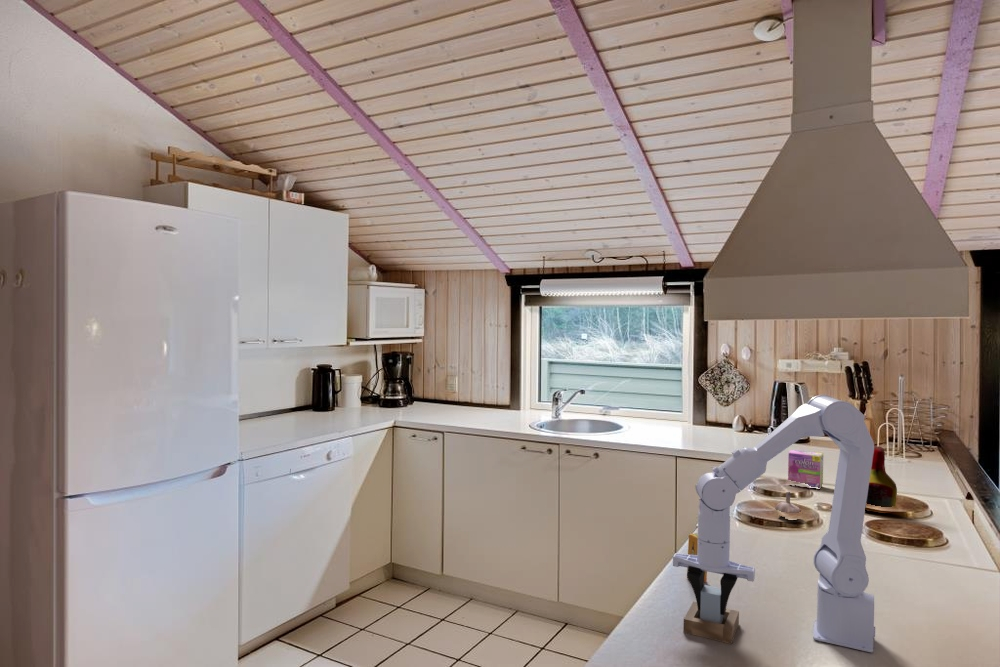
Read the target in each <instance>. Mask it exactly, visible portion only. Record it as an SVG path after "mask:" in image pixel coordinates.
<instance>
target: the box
mask: <svg viewBox="0 0 1000 667" xmlns="http://www.w3.org/2000/svg"><path fill="white" fill-rule="evenodd" d="M787 456H788V457H787V458H788V459H787V460H788V464H787V466H788V467H787V481H788V480H791V481H796V482H800V483H805V484H808V485H809V486H811V487H818V488H821V486H822V484H823V485H824V453H821V452H813V451H804V450H803V451H802V450H796V449H795V450H793V449H791V450H789V451H788V455H787ZM821 489H822V488H821Z"/></svg>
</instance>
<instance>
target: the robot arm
mask: <svg viewBox="0 0 1000 667" xmlns="http://www.w3.org/2000/svg"><path fill="white" fill-rule="evenodd" d="M865 418H866V416H865V415H864V414H863V413H862V412H861V410H860V409H858V408H857V407H856V406H855V405H854V404H852V403H851V402H849V401H845V400H839V399H837V398H835V397H832V396H830V395H828V394H827V395H825V394H818V395H815V396H813V397H812V398H811V399H809V400H808V401H807V403H803V404H802V405H800V406H798V408H796V410H795V411H794V412H793V413H792V414H791V415H790V416H788V418H786V419H785V420H784V421H783V422H782V423H781V424H780V425H778V426H777V427H776V428H775V429H774V430H773V431H771V432H770V433H769V434H768V435H767V436H765V437H764V438H763V439H762V440H761V441H760V442H759V443H758V444H756V445H755V446H754V447H748V446H747V447H742V448H741V449H738V448H735V449H734V450H732V451H731V454H732V456H730V457H729V458H728V459H726V460H725V461H723V463H722V464H720V465H719V466H713V468H711V470H712V472H705V473H703V474H702V475H701V476H700V477H699V478H698V482H697V484H696V485H695V486H694V487H695V488H694V489H695V491H696V494H697V496H698V497H699V499H698V502H699V503H698V513H697V533H698V547H697V555H688V554H685V553H677V552H675V553H674V554H673V556H672V567H675V568H679V567H684V568H686V569H687V568H688V572H687V571H686V578H687V577H688V579H687V580H688V581H689V584H690V585H691V588H692V590H693V593H694V596H695V600H696V601H695V602H697V606H698V610H700V605H701V590H702V589H703V587H704V585H705V582H704V575H705V571H707V573H708V572H709V573H714V574H720V575H722V577H721V578H720V581H719V582H720V588H721V604H720V614H721V615H724V614H725V612H726V609H727V605H728V601H729V598H730V595H731V592H732V590H733V589H734V587H735V584H736V583H737V581H738V578H739V579H744V580H747V581H748V582H752V583H753V582H754V581H755V574H756V569H755V567H753V566H748V565H745V564H741V563H738V562H735V561H732V560H730V546H731V544H730V543H731V541H730V540H731V514H730V513H731V512H730V511H731V507H732V505H733V504H734V502H735V501H736V495H737V494H739V493H741V492H742V491H744V489H745V488H746V489H747V487H749V485H750V484H752V483H754V482H755V481H756V480H757V479H758V478H759V477H761V476H763V475H764V474H765V473H766V471H767V464H768V462H769V461H771V460H772V459H774V458H775V457H776V456H778V455H779V454H781V453H782V452H783V451H785V450H787V449H788V448H789V447H791V446H792V445H793V444H795V443H796V442H798V441H799V440H801V439H802V438H804V437H805V438H806V437H807V438H808V437H825V434H826V435H827V436H828V437H829V438H830V439H831V440H832V442H833V443H834V444H835V445H836V447H838V449H839V456H838V462H837V469H836V470H837V471H836V477H835V484H834V489H833V490H834V491H833V498H832V505H831V510H830V517H829V518H830V519H829V524H828V531H827V532H826V533H825V534H824V535H823V536H822V537H821V540H820V541H821V543H820V545H819V547H818V548H817V550H816V551H815V553H814V555H813V564H814V565H813V566H814V568H815V569H816V571H817V572H818V573H819V577H818V580H817V597H816V598H817V599H816V600H817V601H816V619H815V620H814V625H813V626H814V627H813V632H812V633H813V635H812V639H813V640H815V641H819V642H823V643H828V644H833V645H837V646H841V647H845V648H850V649H855V650H859V651H863V652H868V653H874V638H876V626H875V595H874V594H871V593H868V592H865V591H866V589H867V588H868V585H869V582H870V581H869V580H870V577H869V573H868V571H867V568H866V567H867V566H866V561H867V556H866V553H865V550H864V548H863V545H862V534H863V529H864V528H863V527H864V520H865V513H866V511H865V508H866V501H867V494H868V487H869V480H870V474H871V467H872V460H873V453H874V446H875V443H874V442H875V441H874V440H873V438H872V436H871V434H870V431H869V429H868V427H867V424H866V420H865Z"/></svg>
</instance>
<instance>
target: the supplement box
mask: <svg viewBox="0 0 1000 667" xmlns="http://www.w3.org/2000/svg"><path fill="white" fill-rule="evenodd" d="M687 544H688V549H687V555H697V547H698V532H697V533H689V534H688V543H687ZM687 572H688V568H687V567H686V573H687ZM707 574H708V571H705V575H704V583H706V582H707V581H708V580H707V579H708V578H707V577H708V575H707ZM686 578H687V580H689V579H688V577H687V576H686Z"/></svg>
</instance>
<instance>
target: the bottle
mask: <svg viewBox="0 0 1000 667" xmlns="http://www.w3.org/2000/svg"><path fill="white" fill-rule="evenodd" d="M885 457H886V455H885V449H884V448H883V447H882V446H878V445H876V446H875V445H874V453H873V460H872V467H871V474H870V480H869V487H868V494H867V501H866V503H867V504H871V505H875V506H881V507H892V506H895V507H896V503H897V497H898V488H897V484H896V482H895V481H894V479H892V477H891V476H890V475H888V473H887V471H886V465H885V461H886V458H885Z"/></svg>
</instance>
